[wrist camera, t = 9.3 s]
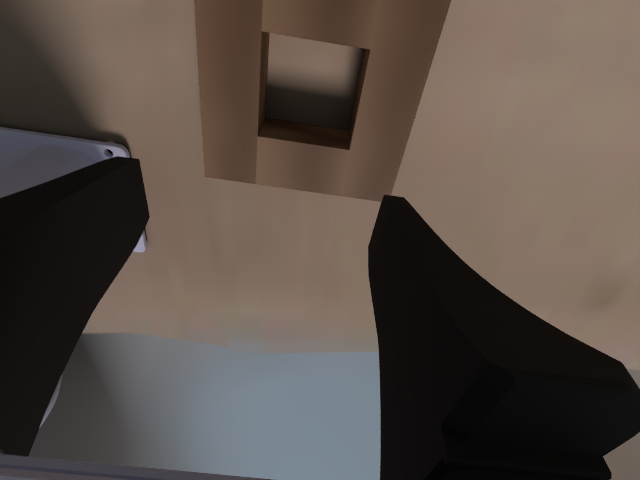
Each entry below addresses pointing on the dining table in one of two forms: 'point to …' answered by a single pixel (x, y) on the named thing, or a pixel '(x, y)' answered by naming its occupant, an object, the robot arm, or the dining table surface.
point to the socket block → (302, 139)
